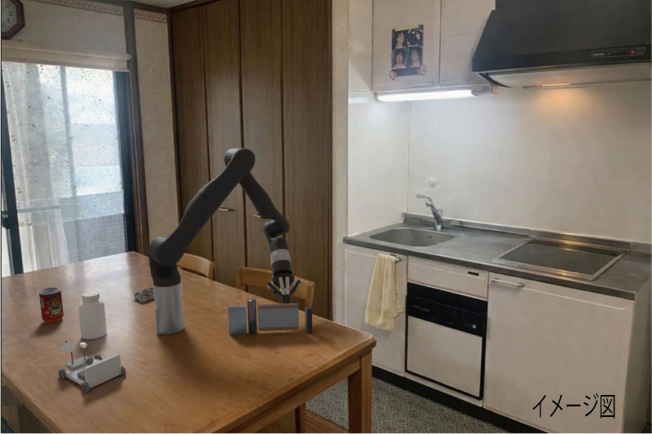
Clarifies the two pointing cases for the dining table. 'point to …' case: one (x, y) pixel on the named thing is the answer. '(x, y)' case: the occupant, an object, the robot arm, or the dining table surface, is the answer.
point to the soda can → (51, 305)
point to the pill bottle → (92, 316)
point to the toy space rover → (90, 368)
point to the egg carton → (144, 294)
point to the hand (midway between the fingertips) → (286, 305)
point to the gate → (278, 317)
